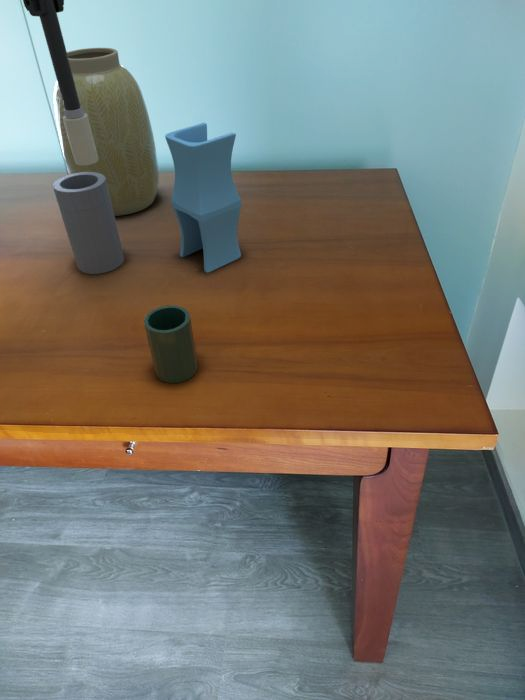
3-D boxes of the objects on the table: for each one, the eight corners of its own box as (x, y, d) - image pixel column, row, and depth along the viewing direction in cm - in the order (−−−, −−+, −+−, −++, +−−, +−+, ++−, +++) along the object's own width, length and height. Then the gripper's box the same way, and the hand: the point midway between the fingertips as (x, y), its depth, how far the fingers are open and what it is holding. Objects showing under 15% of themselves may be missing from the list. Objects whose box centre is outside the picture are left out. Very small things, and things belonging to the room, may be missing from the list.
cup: (102, 278, 85) (79, 195, 76) (67, 267, 88) (41, 186, 79) (133, 256, 90) (115, 176, 81) (99, 246, 93) (79, 168, 84)
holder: (181, 388, 64) (171, 337, 59) (146, 374, 67) (134, 324, 62) (206, 362, 68) (198, 312, 63) (172, 350, 70) (163, 300, 65)
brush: (86, 167, 71) (32, -38, 57) (70, 163, 73) (12, -38, 58) (103, 159, 73) (54, -41, 59) (86, 155, 75) (35, -41, 60)
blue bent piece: (244, 255, 89) (236, 133, 76) (207, 273, 85) (192, 147, 72) (216, 239, 93) (204, 122, 81) (179, 255, 90) (160, 135, 77)
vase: (86, 228, 99) (42, 69, 81) (72, 195, 111) (31, 50, 94) (174, 209, 104) (150, 55, 86) (151, 179, 116) (126, 39, 99)
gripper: (22, -189, 56) (68, 3, 68) (-100, -200, 48) (-24, 23, 59) (72, -197, 53) (111, 5, 65) (-49, -211, 44) (21, 26, 56)
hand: (47, 13), depth 62 cm, fingers closed on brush, 2 cm apart
